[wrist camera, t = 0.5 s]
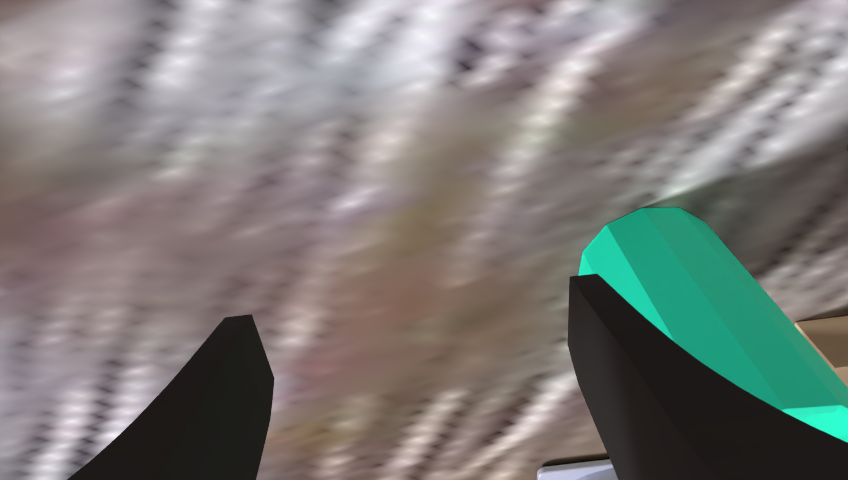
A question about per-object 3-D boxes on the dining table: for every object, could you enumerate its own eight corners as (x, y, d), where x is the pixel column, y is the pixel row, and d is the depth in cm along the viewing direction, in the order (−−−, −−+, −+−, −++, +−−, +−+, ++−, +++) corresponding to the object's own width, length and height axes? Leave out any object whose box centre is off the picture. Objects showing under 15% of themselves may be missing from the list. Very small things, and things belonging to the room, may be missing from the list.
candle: (667, 178, 24) (874, 418, 14) (740, 262, 26) (960, 518, 16) (549, 267, 26) (652, 531, 16) (626, 337, 28) (757, 604, 18)
